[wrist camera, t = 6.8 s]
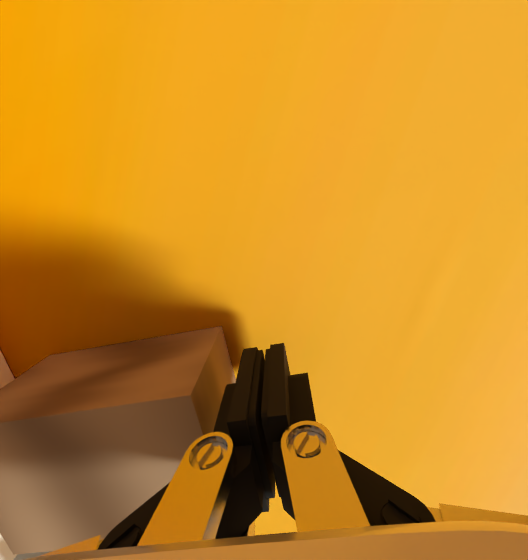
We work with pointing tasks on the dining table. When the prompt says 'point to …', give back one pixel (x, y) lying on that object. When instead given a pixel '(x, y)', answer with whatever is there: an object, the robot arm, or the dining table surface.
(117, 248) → the dining table surface
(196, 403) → the walnut block
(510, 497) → the dining table surface
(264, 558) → the robot arm
